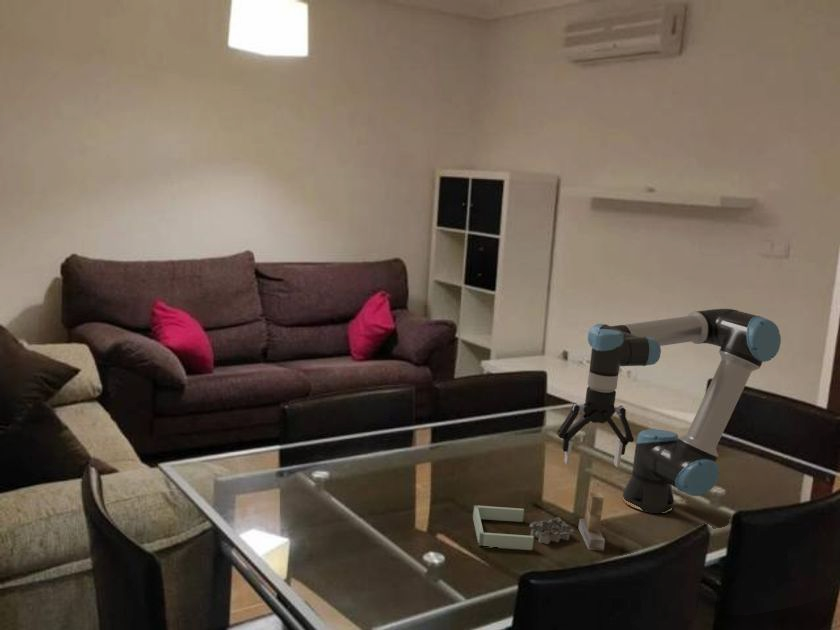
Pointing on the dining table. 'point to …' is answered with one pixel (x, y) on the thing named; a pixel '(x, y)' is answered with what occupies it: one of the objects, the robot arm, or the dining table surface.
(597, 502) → the scraper
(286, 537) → the dining table surface
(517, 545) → the box
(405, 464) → the dining table surface
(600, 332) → the robot arm
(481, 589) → the dining table surface
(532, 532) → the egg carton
